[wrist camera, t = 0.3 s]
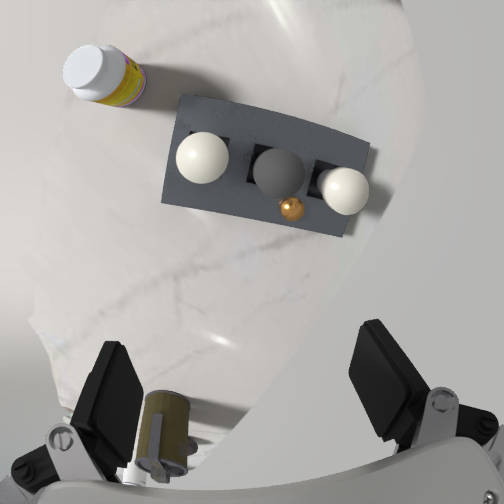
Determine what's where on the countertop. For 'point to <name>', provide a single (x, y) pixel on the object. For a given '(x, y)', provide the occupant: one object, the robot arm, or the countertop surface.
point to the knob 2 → (343, 189)
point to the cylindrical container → (134, 474)
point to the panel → (245, 154)
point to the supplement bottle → (104, 75)
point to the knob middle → (279, 173)
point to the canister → (164, 436)
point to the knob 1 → (202, 157)
